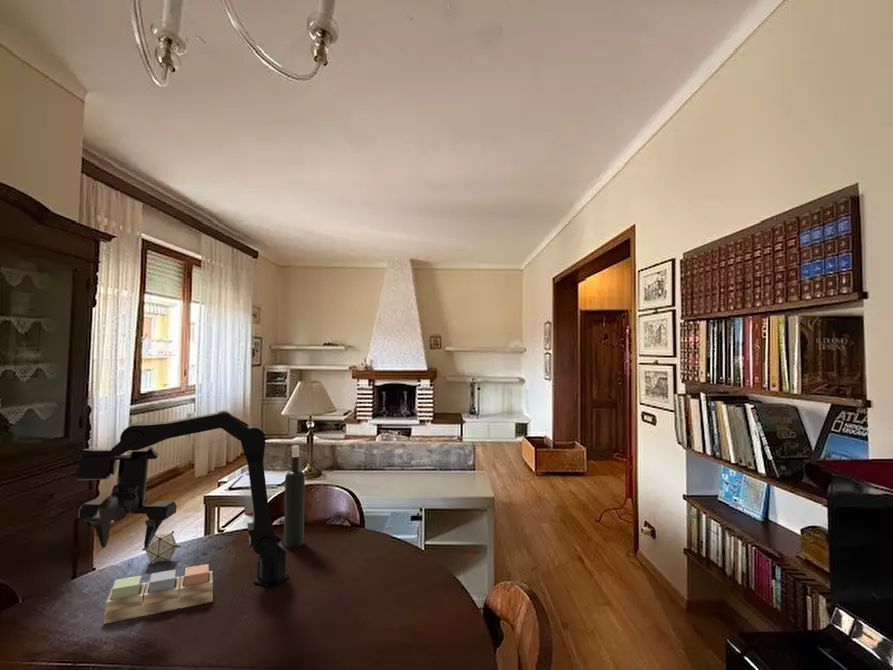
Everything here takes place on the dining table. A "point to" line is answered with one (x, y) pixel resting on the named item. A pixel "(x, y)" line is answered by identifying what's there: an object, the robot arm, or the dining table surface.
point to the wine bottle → (294, 503)
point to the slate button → (162, 581)
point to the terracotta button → (196, 575)
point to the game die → (161, 548)
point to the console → (158, 600)
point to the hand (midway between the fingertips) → (125, 547)
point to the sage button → (126, 587)
